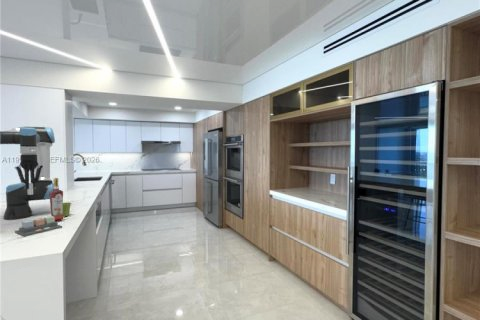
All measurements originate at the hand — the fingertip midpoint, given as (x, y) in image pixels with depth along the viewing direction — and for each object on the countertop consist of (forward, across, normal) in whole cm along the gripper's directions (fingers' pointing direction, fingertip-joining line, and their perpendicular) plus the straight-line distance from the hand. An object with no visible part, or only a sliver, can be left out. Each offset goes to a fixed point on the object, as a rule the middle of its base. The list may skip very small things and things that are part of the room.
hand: (30, 194), depth 149 cm
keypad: (+20, +1, -7) cm, 22 cm away
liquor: (+21, +16, +6) cm, 27 cm away
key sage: (+17, +6, -7) cm, 20 cm away
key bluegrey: (+17, -4, -7) cm, 19 cm away
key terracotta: (+17, +1, -7) cm, 19 cm away
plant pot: (+21, +24, +15) cm, 35 cm away
